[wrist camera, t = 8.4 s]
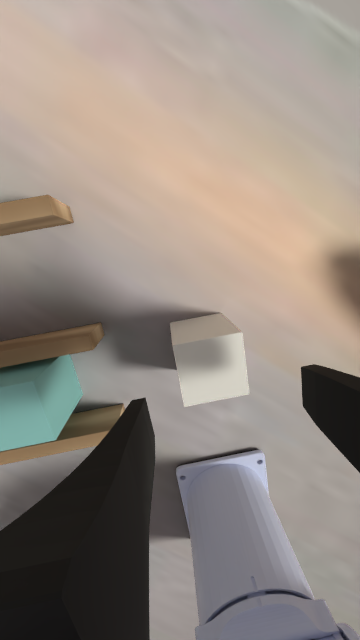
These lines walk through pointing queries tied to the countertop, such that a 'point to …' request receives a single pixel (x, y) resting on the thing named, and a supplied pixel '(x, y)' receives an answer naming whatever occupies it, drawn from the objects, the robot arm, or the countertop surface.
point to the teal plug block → (36, 401)
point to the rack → (52, 340)
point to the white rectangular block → (209, 359)
